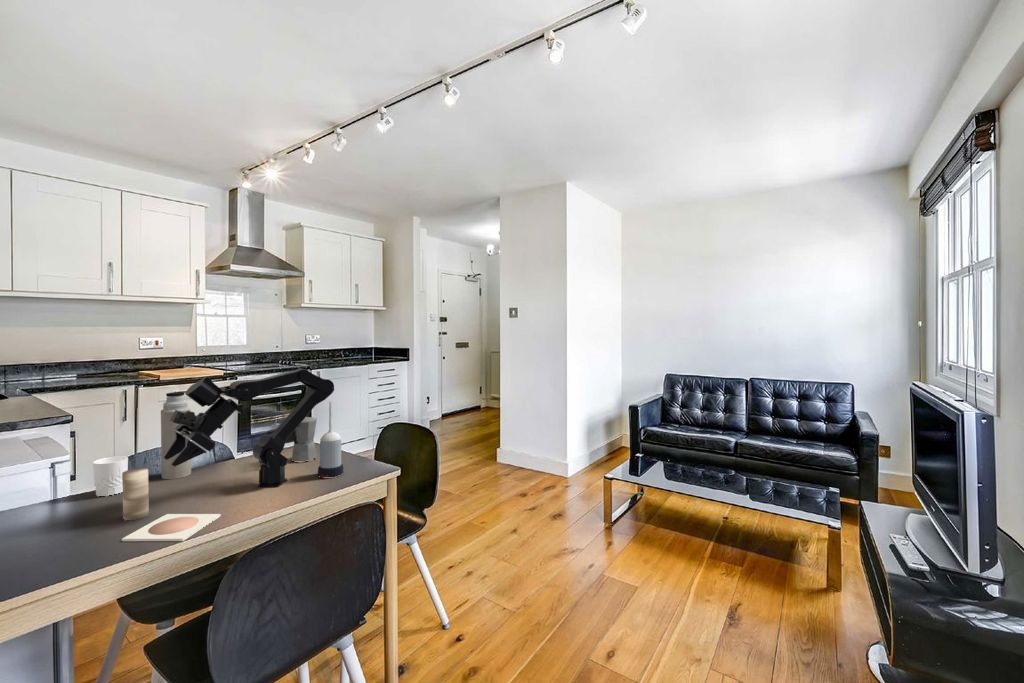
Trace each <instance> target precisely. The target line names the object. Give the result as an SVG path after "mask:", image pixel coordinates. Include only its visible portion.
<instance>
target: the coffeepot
mask: <svg viewBox="0 0 1024 683" xmlns="http://www.w3.org/2000/svg"><path fill="white" fill-rule="evenodd" d="M316 426H317V418H315V417H311V416H310V417H309V416H306V417H305V418H304V420H303V421H302V422H301V423H300V424H299V426H298V427H297V428H296V429H295V430H294V431H293V433H292V434H291V435H292V439H293V448H292V455H291V460H293V461H305V460H310V459H313V458H316V459H317V457H316V456H317V450H316V445H315V441H314V438H315V434H316V428H317V427H316Z"/></svg>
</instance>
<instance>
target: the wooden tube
mask: <svg viewBox="0 0 1024 683" xmlns="http://www.w3.org/2000/svg"><path fill="white" fill-rule="evenodd" d="M122 485H123V493H122V520H123V519H124V520H123V521H127V520H129V521H136V519H137V520H140V519H143V518H145V516H146V517H147V516H149V515H148V514H150V513H149V512H150V510H149V508H150V504H149V500H150V498H149V469H148V468H145V467H142V468H141V467H139V468H133V469H128V470H127V471H125V472H123V473H122Z"/></svg>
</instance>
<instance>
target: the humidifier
mask: <svg viewBox="0 0 1024 683" xmlns="http://www.w3.org/2000/svg"><path fill="white" fill-rule="evenodd" d="M332 403H333V402H332V401H329V403H328V404H329V407H328V408H329V409H328V411H329V416H328V418H329V419H328V428H329V429H328V431H327V432H325V433H324V434H323V435H322V436H321V437H320V442H319V466H318V468H317V477H318V476H320V477H335V476H338V475H341V474H342V473H343V474H344V465H343V463H342V437H341V436H340V434H339V433H337V432H335V431H333V410H332V408H333V404H332Z"/></svg>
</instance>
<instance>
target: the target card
mask: <svg viewBox="0 0 1024 683" xmlns="http://www.w3.org/2000/svg"><path fill="white" fill-rule="evenodd" d="M220 517H221V513H166V514H165V515H163V516H161V517H159V518H157V519H155V520H153V521H151V522H150V523H148V524H146V525H145V526H142V527H140V528H139V529H136V530H135V531H133V532H132V533H129V534H128V535H126V536H124V537H122V538H121V542H183V541H185V540H187V539H188V538H190V537H191V536H193V535H194V534H196V533H197V532H199V531H201V530H202V529H204V528H206V527H207V526H208V525H210V524H211V523H213V522H214V521H217V519H218V518H220ZM212 521H213V522H212ZM209 523H210V524H209ZM206 525H207V526H206ZM203 527H204V528H203Z"/></svg>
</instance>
